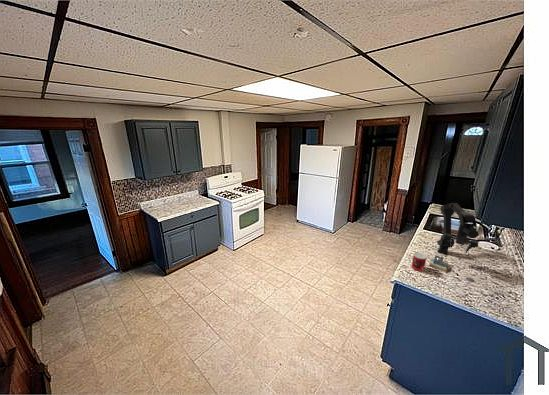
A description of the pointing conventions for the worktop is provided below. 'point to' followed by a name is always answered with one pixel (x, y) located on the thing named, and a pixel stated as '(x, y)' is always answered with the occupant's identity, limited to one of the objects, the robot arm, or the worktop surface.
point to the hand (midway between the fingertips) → (457, 250)
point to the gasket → (469, 279)
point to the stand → (442, 268)
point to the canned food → (418, 261)
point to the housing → (438, 260)
